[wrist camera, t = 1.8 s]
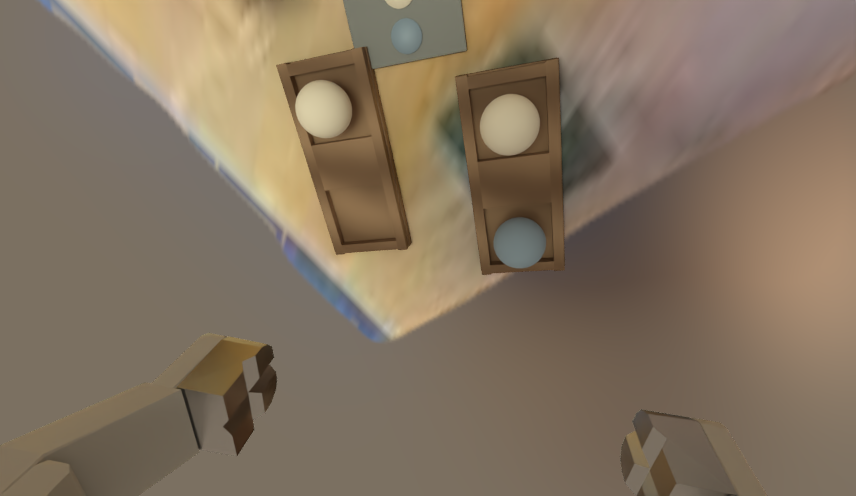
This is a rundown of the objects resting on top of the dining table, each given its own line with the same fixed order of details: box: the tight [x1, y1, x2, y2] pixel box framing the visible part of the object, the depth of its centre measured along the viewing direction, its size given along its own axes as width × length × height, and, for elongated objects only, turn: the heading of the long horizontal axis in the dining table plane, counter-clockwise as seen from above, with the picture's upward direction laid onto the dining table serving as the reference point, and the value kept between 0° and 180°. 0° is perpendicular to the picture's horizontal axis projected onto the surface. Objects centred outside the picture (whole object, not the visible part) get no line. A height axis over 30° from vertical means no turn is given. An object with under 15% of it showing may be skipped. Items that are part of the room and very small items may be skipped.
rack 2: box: [455, 58, 565, 275], centre depth 31 cm, size 16×7×1 cm, turn 10°
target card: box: [343, 0, 467, 69], centre depth 27 cm, size 8×6×1 cm
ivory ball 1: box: [295, 80, 352, 138], centre depth 29 cm, size 4×4×4 cm
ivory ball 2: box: [480, 94, 540, 156], centre depth 27 cm, size 4×4×4 cm
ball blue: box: [493, 217, 546, 268], centre depth 31 cm, size 4×4×4 cm
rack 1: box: [276, 47, 411, 255], centre depth 32 cm, size 16×7×1 cm, turn 10°
